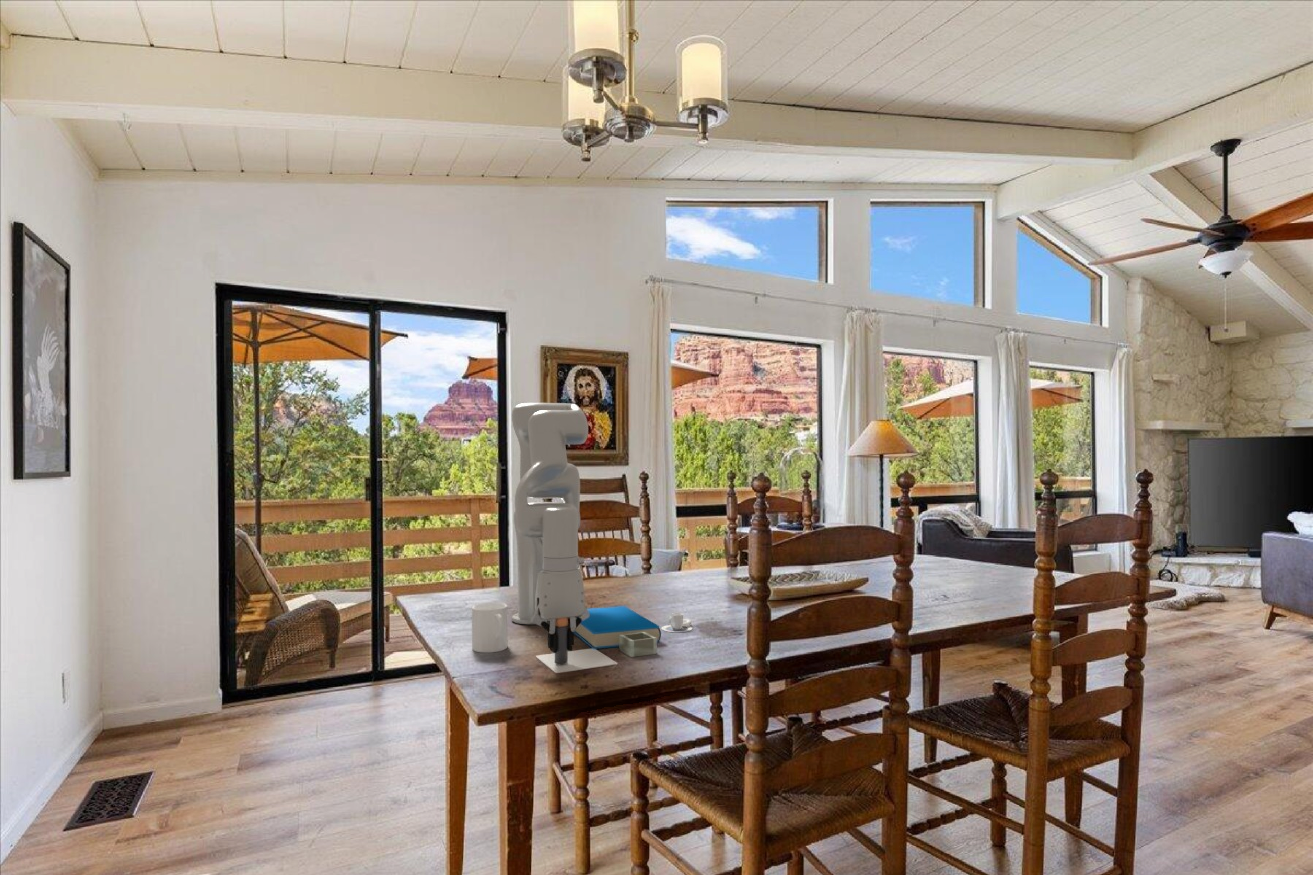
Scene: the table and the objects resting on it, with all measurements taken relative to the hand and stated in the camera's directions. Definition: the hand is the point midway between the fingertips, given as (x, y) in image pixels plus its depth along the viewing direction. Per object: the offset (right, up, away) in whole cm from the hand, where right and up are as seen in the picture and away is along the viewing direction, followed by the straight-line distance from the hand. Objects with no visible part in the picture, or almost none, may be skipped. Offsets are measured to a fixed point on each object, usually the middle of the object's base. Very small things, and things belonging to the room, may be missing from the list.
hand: (560, 649), depth 166 cm
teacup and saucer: (+29, -4, +31) cm, 43 cm away
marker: (0, -3, 0) cm, 3 cm away
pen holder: (+16, -3, +10) cm, 19 cm away
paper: (+3, -3, +3) cm, 5 cm away
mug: (-17, -4, +12) cm, 22 cm away
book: (+9, -4, +27) cm, 28 cm away
